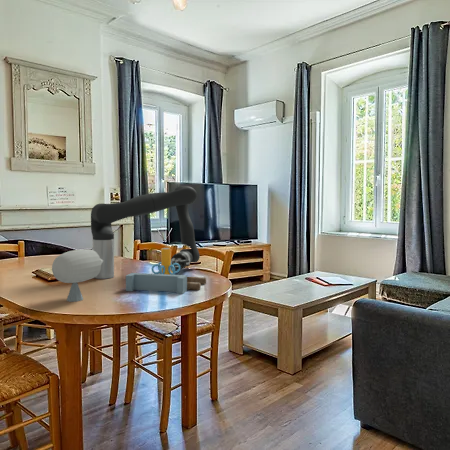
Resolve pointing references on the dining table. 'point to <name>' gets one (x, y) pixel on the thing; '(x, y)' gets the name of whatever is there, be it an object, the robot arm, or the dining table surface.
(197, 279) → the roller
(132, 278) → the stop rail
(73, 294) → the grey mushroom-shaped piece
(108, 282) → the dining table surface
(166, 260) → the yellow block with rings
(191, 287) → the roller
